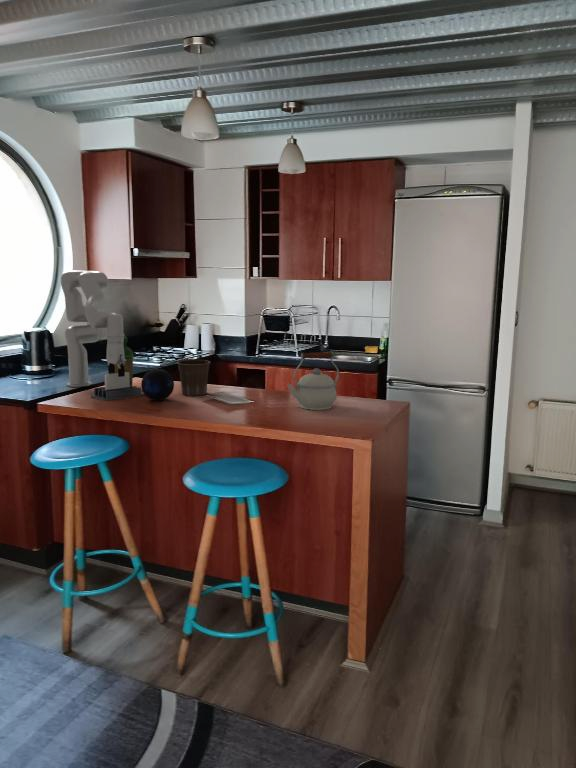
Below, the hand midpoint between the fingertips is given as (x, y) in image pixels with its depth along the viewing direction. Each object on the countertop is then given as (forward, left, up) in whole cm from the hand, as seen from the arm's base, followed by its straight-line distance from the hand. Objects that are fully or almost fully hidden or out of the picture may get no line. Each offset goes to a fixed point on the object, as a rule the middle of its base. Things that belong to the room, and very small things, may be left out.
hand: (116, 374), depth 304 cm
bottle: (-15, +12, -11) cm, 22 cm away
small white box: (0, 0, -9) cm, 9 cm away
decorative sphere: (+23, +9, -11) cm, 26 cm away
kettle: (+82, +53, -11) cm, 98 cm away
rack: (+1, 0, -10) cm, 10 cm away
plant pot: (+21, +31, -11) cm, 39 cm away
